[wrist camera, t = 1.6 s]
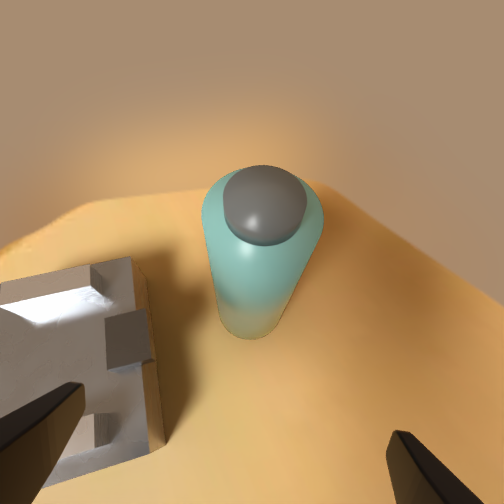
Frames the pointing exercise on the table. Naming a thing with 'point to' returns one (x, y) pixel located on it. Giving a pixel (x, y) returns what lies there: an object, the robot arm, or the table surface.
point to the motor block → (85, 359)
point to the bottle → (258, 244)
